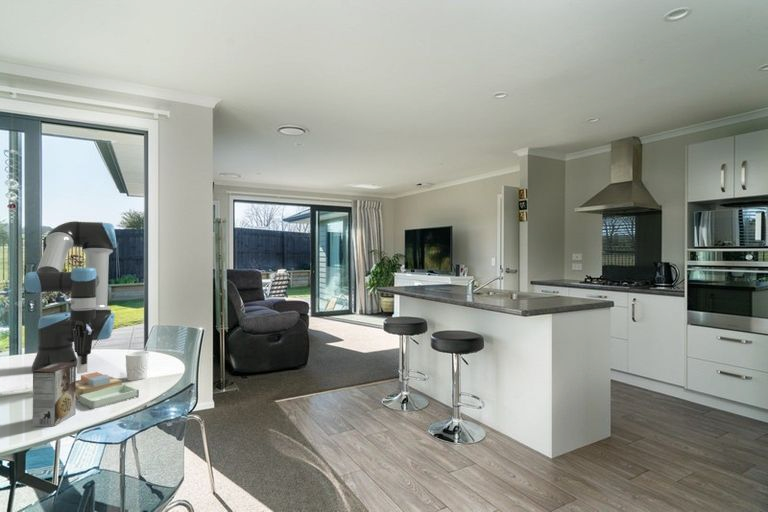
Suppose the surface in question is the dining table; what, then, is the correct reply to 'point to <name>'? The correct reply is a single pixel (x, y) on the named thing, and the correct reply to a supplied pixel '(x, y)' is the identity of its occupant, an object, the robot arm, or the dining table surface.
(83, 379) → the tile
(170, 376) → the dining table surface
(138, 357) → the white cup
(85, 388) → the tan square panel
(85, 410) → the dining table surface
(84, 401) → the tray
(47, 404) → the cookie box
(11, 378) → the dining table surface
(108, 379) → the tile
